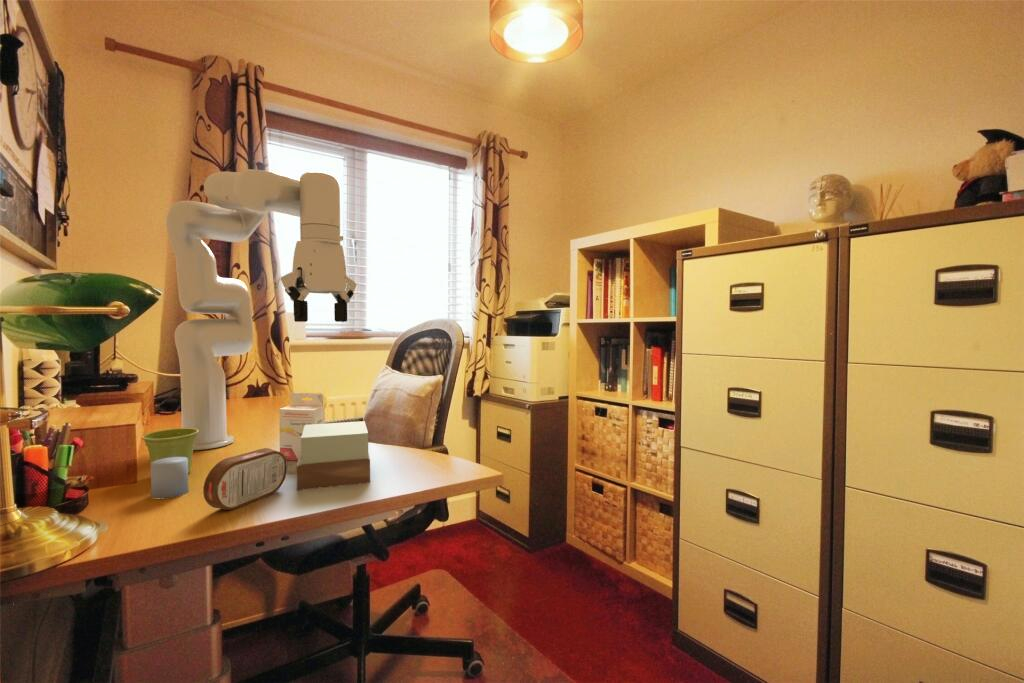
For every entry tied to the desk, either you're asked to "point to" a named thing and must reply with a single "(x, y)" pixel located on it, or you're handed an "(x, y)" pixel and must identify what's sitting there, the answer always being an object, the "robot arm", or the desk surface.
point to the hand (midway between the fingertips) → (321, 321)
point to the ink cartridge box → (298, 421)
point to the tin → (245, 478)
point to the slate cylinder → (169, 477)
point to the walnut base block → (332, 473)
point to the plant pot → (171, 444)
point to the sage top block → (334, 442)
